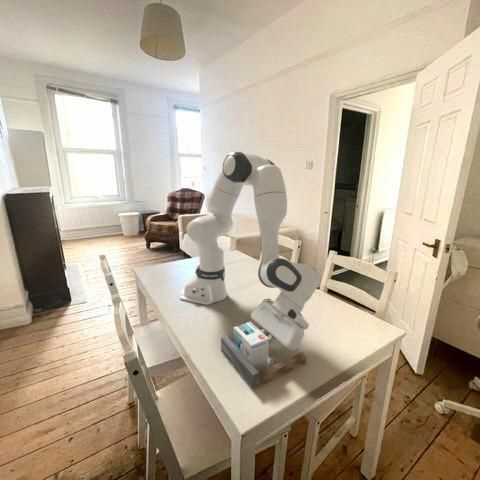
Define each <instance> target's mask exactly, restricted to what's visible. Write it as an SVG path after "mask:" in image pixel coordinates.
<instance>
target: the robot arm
mask: <svg viewBox="0 0 480 480" xmlns="http://www.w3.org/2000/svg"><path fill="white" fill-rule="evenodd" d="M244 186H252V189H253V199H254V206H255V207H254V208H255V213H256V217H257V223H258V227H259V235H260V249H261V261H260V264H259V267H258V271H257V276H258V279H259V281H260V283H261V284H262V285H263V286H265V287H266V288H270V289H271V288H272V289H274V288H276V289H279V291H280V293H279V294H278V295H277V297H276V298H275V300H274V301H273V300H272V299H271V298H265V299H263V300H261V302H260V303H259V304H258V305H257V306H256V308H254V310H252V312H251V314H250V318H251V320H253V321H254V322H255V323H257V325H259V326H260V327H261V328H262V330H261V332H262V333H263V334H264V335H267V334H268V333H270V334H269V335H268V338H269V345H270V344H271V343H273V342H275V340H276V341H278V342H280V343H281V344H282V345H283V347H284V346H285V347H286V348H287V349H288V350H290V351H294V350H296V349H297V348H298V346H299V345H300V343H301V341H302V340H303V337H304V336H305V330H307V329H308V328H309V326H310V324H309V322H308V321H307V320H306V318H305V317H304V316H303V315H302V312H303V309H304V306H305V305H306V303H307V302H308V301H309V300H310V299H311V298H312V296H313V294H314V293H315V292H316V290H317V288H318V286H319V283H320V281H321V278H320V275H319V272H318V271H317V270H316V269H315V268H314V267H312V266H311V265H310V264H307V263H299V262H294V261H290V260H287V259H285V258H281V257H280V252H279V251H280V250H279V239H278V238H279V231H280V227H281V225H282V223H283V222H284V220H285V218H286V216H287V213H288V210H287V209H288V199H287V198H288V197H287V196H288V195H287V190H286V189H287V188H286V185H285V180H284V176H283V174H282V171H281V168H279V167H278V166H277V165H276V164H275V163H274V162H273V161H271V160H270V159H268V158H264V157H262V156H258V155H256V154H250V153H244V152H242V151H232V152H231V151H230V153H227V155H226V156H225V158H224V160H223V161H222V169H221V170H220V172H219V174H218V176H217V177H216V180H215V182H214V183H213V187H212V189H211V192H210V194H209V195H210V196H209V198H208V203H209V205H210V211H209V213H207V215H202V216H198V217H196V218H194V219H192V220H191V221H190V222H188V224H187V226H186V234H187V237H188V238H189V240H190V241H191V242H193V243H194V244H195V245H196V246H195V247H196V248H197V250H198V257H199V260H198V261H199V264H198V265H197V267H196V268H195V271H194V274H195V275H193V276H192V277H190V278H189V279H188V280H187V281H186V283H185V284H184V288H183V289H182V290H181V291H180V294H179V300H180V301H186V302H190V303H196V304H201V305H212V304H213V303H218V302H221V301H224V300H225V299H226V298H227V297H228V291H227V287H226V283H225V282H226V281H225V278H226V269H225V268H226V267H225V265H224V264H225V261H224V260H225V259H224V256H225V255H224V254H225V253H224V250H223V249H222V247H220V246H219V243H218V238H220V237H223V236H225V235H226V234H228V233H229V232H230V231H231V230H233V229H232V228H233V226H234V225H233V224H234V222H233V219H232V215H233V210H234V208H235V205H236V203H237V201H238V198H239V196H240V194H241V192H242V189H243V187H244Z"/></svg>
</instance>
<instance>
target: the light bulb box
mask: <svg viewBox="0 0 480 480" xmlns="http://www.w3.org/2000/svg"><path fill="white" fill-rule="evenodd" d="M259 329H260V328H258V327H257V326H256V325H254V323H253V322H251V321H248V322H245V323H242V324H239V325H237V326H233V328H232V330H233V331H232V333H233V334H232V337H233V338H232V339H233V344H234V345H235V346H236V347H237V348H238V350H239V351H240V352H241V353H242V354H243V355H244V356H245V357H246V358H247V360H248V361H249V362H250V363H251V364H252V365H253V366H254V367H255V368H256V370H257V371H258V372H259V371H262V370H264V369H266V368H268V367H269V366H268V363H269V361H268V360H269V345H270V344H269V337H267V336H266V335H264V334H263V333H262V332H261V331H260V330H259Z"/></svg>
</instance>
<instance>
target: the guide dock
mask: <svg viewBox="0 0 480 480" xmlns="http://www.w3.org/2000/svg"><path fill="white" fill-rule="evenodd" d="M262 328H263V327H261V328H258V329H259V330H260V331H261V330H262ZM269 334H270V333H268V334H267V335H266V336H267V337H268V335H269ZM268 338H269V337H268ZM220 351H221V353H222V354H223V355H224V356H225V358H226V359H227V360H228V361H229V363H230V364H231V365H232V366H233V368H234V369H235V370H236V371H237V373H238V374H239V375H240V376H241V377H242V379H243V380H244V381H245V382H246V384H247V385H248V386H249V388H250V389H251V390H252V391H253V390H255V389H258V388H259V387H261V386H263V385H265V384H268V383H270V382H271V381H274V380H275V379H278V378H279V377H281V376H284V375H286V374H288V373H289V372H291V371H294V370H296V369H298V368H300V367H302V366H304V365H306V362H307V361H306V360H307V355H306V354H305V353H304V352H302V351H301V352H299V353H296V354H294V355H292V356H290V357H288V358H286V359H285V358H284V359H283V360H280V361H279V362H277V363H275V364H273V365H271V366H267V368H266V369H264V370H262V371H259V372H258V371H257V370H256V368H255V367H254V366H253V365H252V364H251V363H250V362H249V361H248V360H247V358H246V357H245V356H244V355H243V354H242V353H241V352H240V351H239V350H238V348H237V347H236V346H235V345H234V344H233V338H231V339H229V337H228V336H227V335H225V336H222V337H220Z"/></svg>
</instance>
